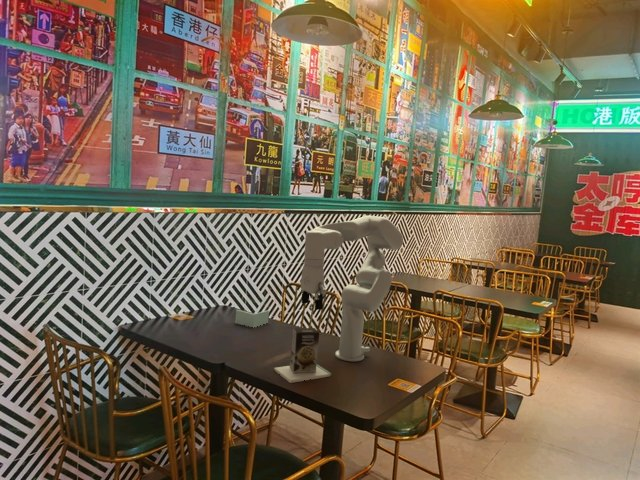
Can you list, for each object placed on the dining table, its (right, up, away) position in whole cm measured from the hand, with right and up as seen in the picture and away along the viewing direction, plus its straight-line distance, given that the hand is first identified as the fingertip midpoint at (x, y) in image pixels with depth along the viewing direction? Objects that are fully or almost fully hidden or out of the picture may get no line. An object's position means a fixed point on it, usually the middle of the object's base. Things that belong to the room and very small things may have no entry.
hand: (311, 306), depth 184 cm
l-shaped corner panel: (-32, -18, +62) cm, 72 cm away
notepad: (-4, -26, -1) cm, 26 cm away
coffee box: (-3, -25, -1) cm, 25 cm away
